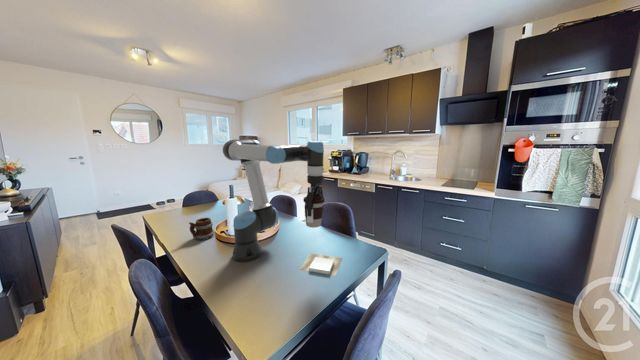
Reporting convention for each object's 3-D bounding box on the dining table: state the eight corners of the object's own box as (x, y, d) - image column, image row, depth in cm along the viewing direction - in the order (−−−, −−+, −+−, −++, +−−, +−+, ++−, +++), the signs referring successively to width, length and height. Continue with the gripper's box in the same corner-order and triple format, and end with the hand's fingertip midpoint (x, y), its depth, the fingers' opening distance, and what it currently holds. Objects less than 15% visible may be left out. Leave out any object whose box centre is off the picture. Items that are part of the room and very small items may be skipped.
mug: (219, 234, 148) (214, 214, 143) (200, 246, 136) (193, 225, 132) (209, 230, 154) (203, 211, 149) (189, 242, 142) (182, 222, 137)
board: (299, 271, 105) (299, 269, 105) (310, 255, 120) (310, 253, 120) (335, 278, 100) (335, 275, 99) (342, 260, 115) (342, 258, 114)
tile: (315, 260, 112) (308, 271, 103) (315, 256, 112) (308, 267, 103) (334, 263, 110) (329, 275, 100) (334, 259, 109) (329, 271, 100)
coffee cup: (321, 230, 99) (322, 197, 97) (300, 227, 101) (300, 196, 99) (325, 222, 109) (326, 193, 106) (306, 220, 111) (306, 192, 108)
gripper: (314, 179, 90) (313, 228, 94) (329, 171, 113) (329, 210, 117) (297, 178, 92) (297, 225, 96) (316, 170, 115) (315, 208, 119)
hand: (314, 217), depth 107 cm, fingers open, 13 cm apart
